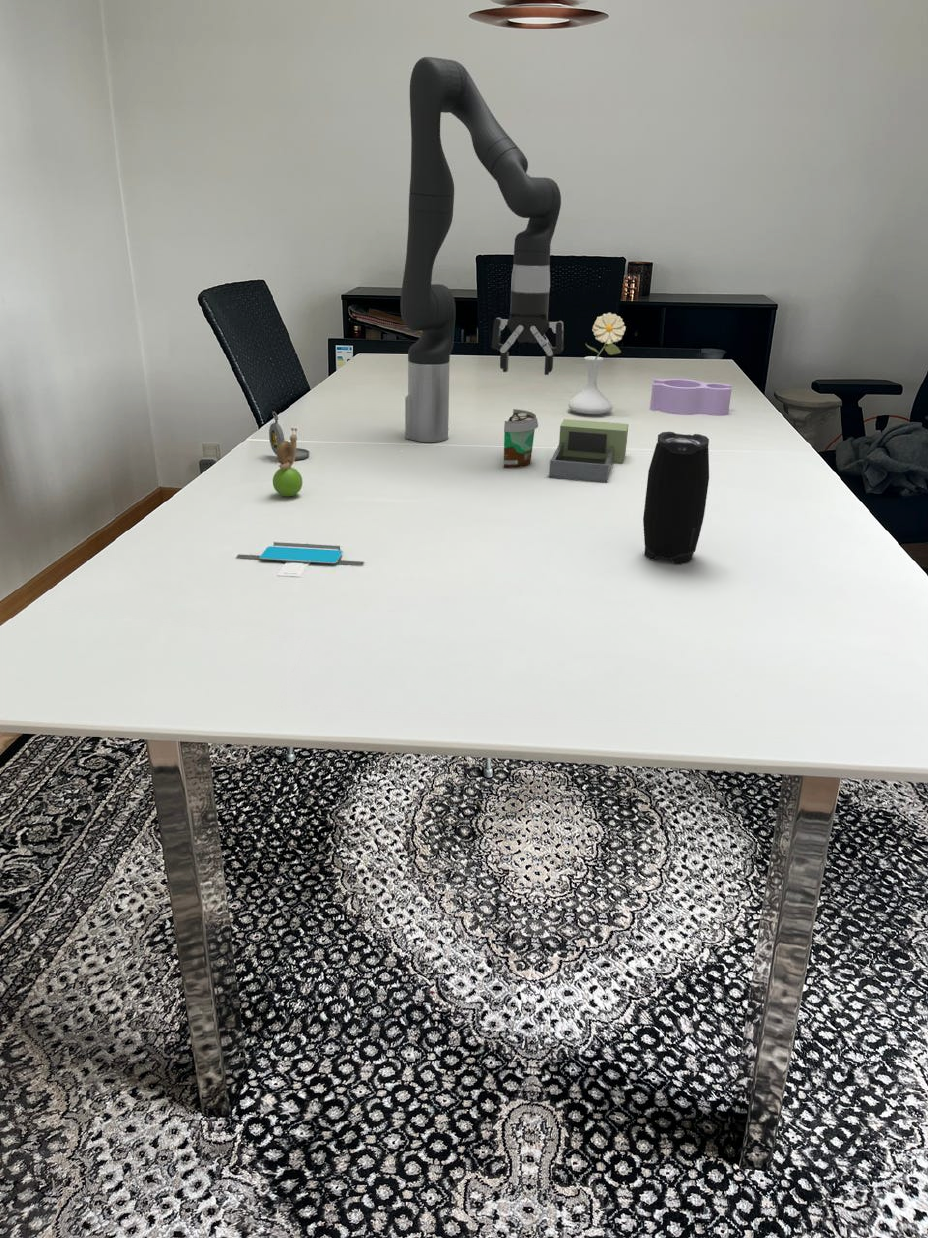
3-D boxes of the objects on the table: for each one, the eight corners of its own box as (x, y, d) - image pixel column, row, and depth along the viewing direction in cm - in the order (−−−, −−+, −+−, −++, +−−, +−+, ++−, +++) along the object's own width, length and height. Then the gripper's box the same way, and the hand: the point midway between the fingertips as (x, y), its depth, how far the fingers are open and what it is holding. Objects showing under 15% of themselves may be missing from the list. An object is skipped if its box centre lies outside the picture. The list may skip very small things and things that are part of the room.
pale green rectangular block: (557, 458, 207) (560, 426, 205) (561, 450, 214) (564, 418, 211) (623, 463, 205) (626, 431, 202) (625, 455, 211) (628, 423, 208)
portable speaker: (631, 548, 158) (643, 431, 150) (683, 545, 161) (698, 429, 152) (653, 567, 151) (667, 445, 143) (707, 563, 153) (724, 442, 145)
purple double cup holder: (727, 408, 257) (731, 382, 254) (728, 418, 246) (731, 391, 243) (651, 402, 261) (654, 377, 258) (649, 412, 250) (651, 386, 247)
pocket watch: (315, 455, 205) (313, 408, 200) (293, 464, 198) (290, 416, 194) (283, 450, 208) (281, 403, 204) (260, 459, 201) (257, 411, 197)
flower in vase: (562, 414, 245) (569, 312, 235) (574, 405, 255) (581, 307, 244) (612, 420, 241) (621, 316, 230) (622, 411, 250) (632, 311, 240)
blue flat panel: (223, 576, 145) (223, 566, 144) (247, 548, 156) (246, 538, 155) (355, 584, 144) (354, 574, 143) (369, 555, 154) (369, 545, 154)
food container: (531, 472, 198) (534, 423, 193) (502, 469, 199) (504, 421, 194) (539, 456, 208) (542, 410, 204) (511, 454, 210) (513, 408, 205)
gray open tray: (549, 477, 194) (550, 460, 193) (559, 457, 208) (560, 441, 206) (606, 482, 192) (608, 465, 190) (612, 462, 206) (614, 446, 204)
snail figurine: (310, 492, 182) (308, 429, 176) (294, 501, 176) (291, 437, 171) (285, 488, 183) (281, 426, 178) (268, 498, 178) (264, 433, 172)
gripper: (491, 289, 187) (488, 373, 194) (564, 292, 184) (558, 378, 191) (498, 285, 193) (495, 367, 200) (568, 288, 191) (563, 371, 198)
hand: (526, 372), depth 196 cm, fingers open, 8 cm apart
